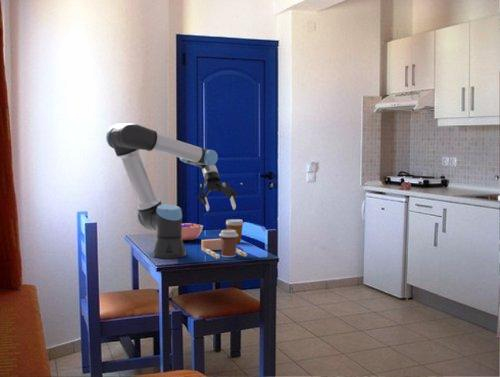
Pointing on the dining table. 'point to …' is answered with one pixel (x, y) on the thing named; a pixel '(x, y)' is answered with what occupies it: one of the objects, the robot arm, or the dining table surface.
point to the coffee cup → (228, 243)
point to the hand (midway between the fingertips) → (221, 208)
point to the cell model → (190, 231)
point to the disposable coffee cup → (235, 227)
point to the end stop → (211, 244)
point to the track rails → (219, 255)
